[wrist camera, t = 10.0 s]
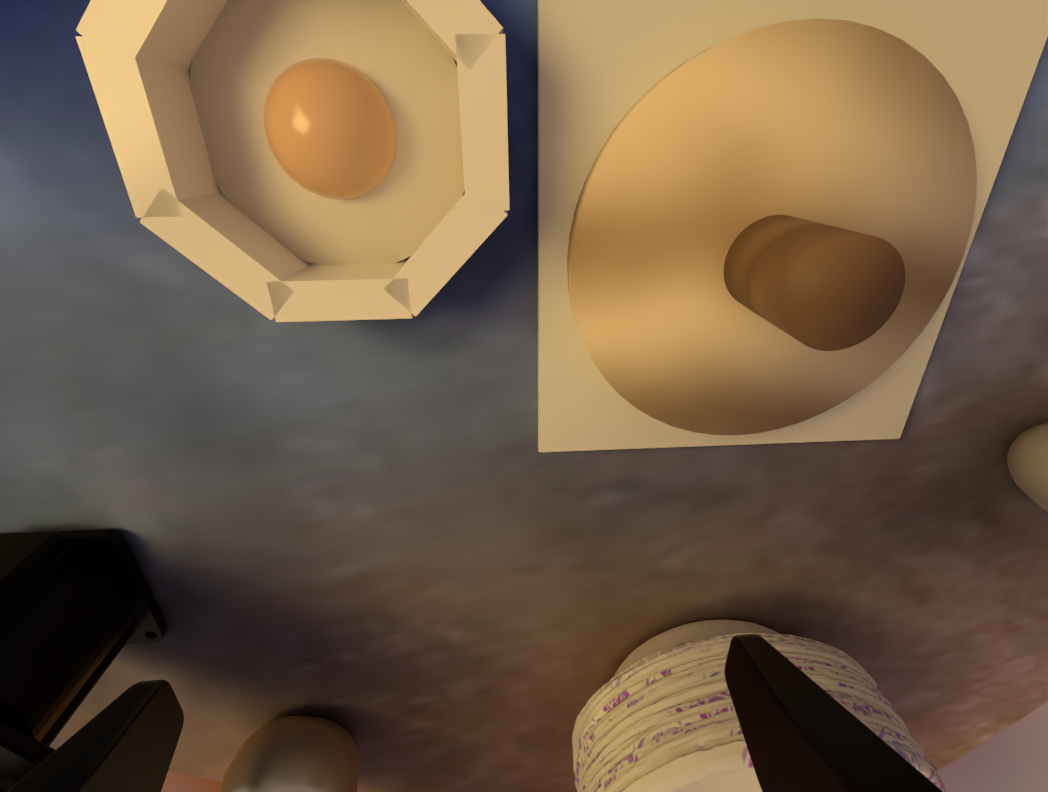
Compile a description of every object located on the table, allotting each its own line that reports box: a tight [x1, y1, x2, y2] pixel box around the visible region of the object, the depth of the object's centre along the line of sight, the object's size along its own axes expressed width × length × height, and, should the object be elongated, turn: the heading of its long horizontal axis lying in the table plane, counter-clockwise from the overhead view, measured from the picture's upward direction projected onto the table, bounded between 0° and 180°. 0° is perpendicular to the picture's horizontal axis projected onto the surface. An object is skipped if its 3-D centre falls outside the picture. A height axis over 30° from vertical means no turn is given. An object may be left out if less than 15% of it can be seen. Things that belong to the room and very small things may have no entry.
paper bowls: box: [572, 619, 946, 792], centre depth 25 cm, size 15×15×8 cm
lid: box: [567, 18, 977, 435], centre depth 15 cm, size 13×13×5 cm
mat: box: [538, 0, 1048, 452], centre depth 18 cm, size 15×15×1 cm
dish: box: [75, 0, 510, 322], centre depth 15 cm, size 10×10×4 cm
